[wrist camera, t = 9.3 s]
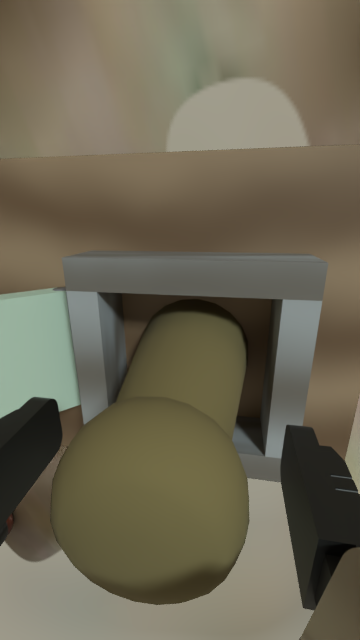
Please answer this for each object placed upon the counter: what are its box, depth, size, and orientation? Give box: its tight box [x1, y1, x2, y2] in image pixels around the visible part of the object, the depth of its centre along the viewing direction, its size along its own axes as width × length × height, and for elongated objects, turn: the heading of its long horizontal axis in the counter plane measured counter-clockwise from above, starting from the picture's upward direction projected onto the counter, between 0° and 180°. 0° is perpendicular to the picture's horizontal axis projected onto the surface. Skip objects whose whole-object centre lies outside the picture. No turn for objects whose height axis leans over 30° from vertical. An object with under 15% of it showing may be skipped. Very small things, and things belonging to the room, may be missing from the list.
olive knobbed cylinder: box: [50, 299, 249, 605], centre depth 12 cm, size 6×6×11 cm
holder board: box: [0, 144, 360, 482], centre depth 16 cm, size 18×25×4 cm
